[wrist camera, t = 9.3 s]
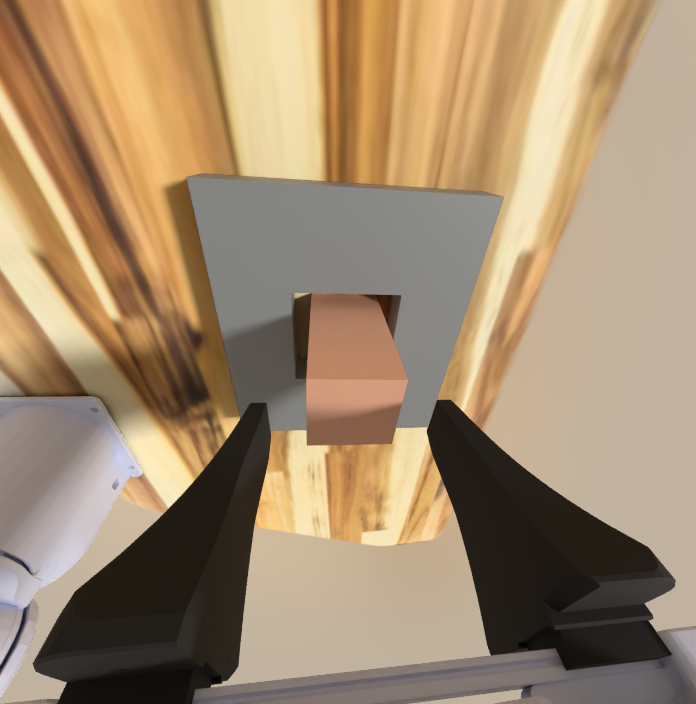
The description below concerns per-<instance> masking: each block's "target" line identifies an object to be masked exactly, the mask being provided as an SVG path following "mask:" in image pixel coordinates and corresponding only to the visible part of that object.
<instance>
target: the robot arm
mask: <svg viewBox="0 0 696 704" xmlns="http://www.w3.org/2000/svg"><path fill="white" fill-rule="evenodd" d="M427 435H428V439H429V443H430V447H431V451H432V454H433V457H434V459H435V462H436V465H437V467H438V470H439V472H440V475H441V477H442V480H443V483H444V485H445V488H446V490H447V493H448V495H449V498H450V500H451V503H452V505H453V508H454V511H455V514H456V517H457V520H458V524H459V527H460V531H461V534H462V538H463V541H464V545H465V549H466V552H467V556H468V560H469V564H470V568H471V572H472V576H473V580H474V584H475V589H476V593H477V597H478V602H479V607H480V611H481V616H482V621H483V626H484V631H485V636H486V641H487V646H488V649H489V651H490V654H491V656H484V657H476V658H466V659H457V660H448V661H440V662H431V663H422V664H414V665H405V666H396V667H387V668H379V669H370V670H361V671H353V672H344V673H335V674H326V675H317V676H309V677H301V678H291V679H283V680H274V681H265V682H256V683H248V684H239V685H230V686H221V687H213V688H211V685H214V684H221V683H222V681H227V680H228V679H229V678H230V676H231V675H232V674H233V673H234V672H235V670H236V669H237V667H238V664H239V653H240V641H241V632H242V622H243V612H244V604H245V595H246V586H247V577H248V569H249V561H250V553H251V546H252V537H253V531H254V524H255V519H256V514H257V509H258V505H259V500H260V496H261V492H262V487H263V483H264V478H265V474H266V469H267V465H268V460H269V452H270V442H271V431H270V423H269V416H268V409H267V403H250V404H249V405H248V407H247V409H246V411H245V412H244V414H243V416H242V417H241V419H240V421H239V422H238V424H237V425H236V427H235V428H234V430H233V431H232V433H231V434H230V436H229V437H228V438H227V440H226V441H225V443H224V444H223V446H222V447H221V448H220V450H219V451H218V452H217V454H216V455H215V456H214V458H213V459H212V460H211V461H210V463H209V464H208V465H207V466H206V468H205V469H204V470H203V471H202V473H201V474H200V475H199V476H198V477H197V479H196V480H195V481H194V482H193V483H192V484H191V485H190V487H189V488H188V489H187V490H186V491H185V492H184V493H183V494H182V495H181V496H180V497H179V498H178V499H177V501H176V502H175V503H174V504H173V505H172V506H171V507H170V508H169V509H168V510H167V511H166V512H165V513H164V514H163V515H162V516H161V517H160V518H159V519H158V520H157V521H156V522H155V523H154V524H153V525H152V526H150V527H149V528H148V529H147V530H146V531H145V532H144V533H143V534H142V535H141V536H140V537H139V538H137V539H136V540H135V541H134V542H133V543H132V544H131V545H130V546H129V547H128V548H126V550H124V551H123V552H122V553H121V554H120V555H118V556H117V557H116V558H115V559H114V560H113V561H111V562H110V563H109V564H108V565H106V566H105V567H104V568H103V569H102V570H100V571H99V572H98V573H97V574H96V575H94V576H93V577H92V578H91V579H90V580H89V581H87V582H86V583H85V584H84V585H82V586H81V587H80V588H79V589H78V590H76V591H75V592H74V594H73V596H72V597H71V599H70V600H69V602H68V603H67V605H66V606H65V608H64V609H63V611H62V613H61V614H60V616H59V617H58V619H57V621H56V623H55V624H54V626H53V628H52V630H51V632H50V633H49V635H48V637H47V639H46V641H45V643H44V644H43V646H42V648H41V650H40V651H39V654H38V655H37V657H36V659H35V661H34V662H33V666H34V669H35V671H36V672H38V673H40V674H42V675H46V676H49V677H52V678H55V679H58V680H61V681H64V682H67V684H66V686H65V688H64V690H63V693H62V694H61V696H60V699H59V700H58V699H43V700H32V701H24V702H15V703H6V704H409V703H416V702H425V701H432V700H440V699H447V698H456V697H464V696H471V695H479V694H487V693H495V692H502V691H510V690H517V689H523V691H522V693H521V699H518V700H512V701H507V702H502V703H496V704H696V626H693V627H684V628H675V629H667V630H662V631H658V632H656V631H655V629H654V628H653V626H652V625H651V624H650V622H649V621H648V620H651V619H653V615H652V614H651V612H650V611H649V609H648V608H647V607H646V605H645V604H644V603H646V602H648V601H650V600H652V599H655V598H656V597H659V596H661V595H663V594H665V593H666V592H668V591H670V590H672V589H673V588H674V587H675V581H676V580H675V579H674V578H673V576H672V575H671V574H670V573H669V572H668V570H667V569H666V568H665V567H664V565H663V564H662V563H661V562H660V561H659V560H658V558H657V557H656V556H655V555H654V553H653V552H652V551H651V550H650V549H649V548H648V547H647V546H645V545H643V544H642V543H640V542H638V541H636V540H634V539H632V538H631V537H629V536H627V535H625V534H624V533H622V532H620V531H618V530H616V529H614V528H613V527H611V526H609V525H607V524H606V523H604V522H602V521H601V520H599V519H598V518H596V517H594V516H593V515H591V514H589V513H588V512H586V511H584V510H583V509H581V508H580V507H578V506H577V505H575V504H574V503H572V502H570V501H569V500H567V499H566V498H564V497H563V496H562V495H560V494H559V493H557V492H556V491H554V490H553V489H551V488H550V487H549V486H547V485H546V484H544V483H543V482H542V481H540V480H539V479H538V478H536V477H535V476H534V475H532V474H531V473H530V472H528V471H527V470H526V469H525V468H523V467H522V466H521V465H520V464H518V463H517V462H516V461H515V460H514V459H512V458H511V457H510V456H509V455H508V454H506V452H504V451H503V450H502V449H501V448H500V447H499V446H498V445H497V444H495V443H494V442H493V441H492V440H491V439H490V438H489V437H488V436H487V435H486V434H485V433H484V432H483V431H482V430H481V429H480V428H479V427H478V426H477V425H476V424H475V423H474V422H473V421H472V420H470V419H469V418H468V417H467V415H466V414H465V413H464V412H463V411H462V410H461V409H460V408H459V407H458V406H457V405H456V404H455V403H453V402H452V401H451V400H437V402H436V405H435V408H434V411H433V414H432V417H431V420H430V423H429V426H428V429H427ZM142 473H143V469H142V468H141V466H140V464H139V463H138V461H137V459H136V458H135V456H134V454H133V453H132V451H131V449H130V448H129V446H128V444H127V443H126V441H125V439H124V438H123V436H122V434H121V433H120V431H119V429H118V428H117V426H116V424H115V423H114V421H113V419H112V418H111V416H110V414H109V413H108V411H107V409H106V408H105V406H104V404H103V403H102V401H101V400H100V399H99V398H97V397H93V396H71V397H0V697H1V696H2V694H3V693H4V692H5V690H6V689H7V687H8V686H9V684H10V683H11V681H12V680H13V678H14V676H15V675H16V673H17V671H18V670H19V668H20V666H21V664H22V663H23V660H24V659H25V656H26V654H27V653H28V650H29V648H30V646H31V643H32V640H33V637H34V634H35V629H36V625H37V619H38V605H37V603H36V602H35V601H34V600H33V599H32V598H33V596H34V595H35V593H36V592H37V590H38V589H40V588H42V587H44V586H46V585H48V584H50V583H52V582H53V581H55V580H56V579H58V578H59V577H60V576H62V575H63V574H64V573H65V572H67V571H68V570H69V569H70V568H71V567H72V566H73V565H74V564H75V563H76V562H77V561H78V560H79V559H80V558H81V557H82V556H83V554H84V553H85V552H86V550H87V549H88V548H89V546H90V545H91V543H92V541H93V540H94V538H95V536H96V534H97V533H98V531H99V529H100V527H101V526H102V524H103V522H104V520H105V519H106V517H107V515H108V513H109V512H110V510H111V508H112V507H113V505H114V503H115V502H116V500H117V498H118V496H119V495H120V493H121V491H122V489H123V488H124V486H125V484H126V482H127V481H128V479H129V477H139V476H141V474H142Z"/></svg>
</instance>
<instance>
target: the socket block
mask: <svg viewBox="0 0 696 704" xmlns="http://www.w3.org/2000/svg"><path fill="white" fill-rule="evenodd" d="M186 178H187V182H188V187H189V191H190V196H191V200H192V205H193V209H194V214H195V218H196V223H197V227H198V232H199V236H200V240H201V245H202V249H203V254H204V258H205V263H206V267H207V272H208V276H209V281H210V285H211V290H212V294H213V299H214V303H215V308H216V312H217V316H218V321H219V325H220V330H221V334H222V339H223V343H224V348H225V352H226V357H227V361H228V366H229V370H230V375H231V379H232V383H233V388H234V392H235V397H236V401H237V406H238V410H239V415H240V419H241V417H242V416H243V414H244V412H245V411H246V409H247V407H248V405H249V404H250V403H267V409H268V416H269V423H270V431H280V430H307V404H306V376H307V361H298V360H297V340H296V319H295V299H294V293H333V294H372V295H392V297H391V303H390V309H389V316H388V322H387V325H388V328H389V331H390V333H391V336H392V338H393V341H394V344H395V346H396V349H397V352H398V354H399V357H400V360H401V362H402V365H403V367H404V370H405V373H406V375H407V378H408V383H407V387H406V391H405V395H404V398H403V402H402V406H401V410H400V414H399V418H398V421H397V425H396V428H413V427H428V425H429V422H430V419H431V416H432V413H433V410H434V407H435V404H436V401H437V398H438V395H439V392H440V389H441V386H442V383H443V380H444V377H445V374H446V371H447V368H448V365H449V362H450V359H451V356H452V353H453V350H454V347H455V344H456V341H457V338H458V335H459V332H460V328H461V325H462V322H463V319H464V316H465V313H466V310H467V307H468V304H469V301H470V298H471V295H472V292H473V289H474V286H475V283H476V280H477V277H478V274H479V271H480V268H481V265H482V262H483V259H484V256H485V253H486V250H487V247H488V244H489V241H490V238H491V235H492V232H493V229H494V226H495V223H496V220H497V217H498V214H499V211H500V208H501V205H502V202H503V199H504V197H502V196H499V195H495V194H491V193H487V192H482V191H466V190H451V189H435V188H420V187H404V186H389V185H373V184H358V183H343V182H327V181H312V180H296V179H281V178H265V177H250V176H234V175H219V174H203V173H202V174H197V175H193V176H188V177H186Z"/></svg>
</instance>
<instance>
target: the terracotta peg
mask: <svg viewBox="0 0 696 704" xmlns="http://www.w3.org/2000/svg"><path fill="white" fill-rule="evenodd" d="M407 383H408V378H407V375H406V373H405V370H404V367H403V365H402V362H401V360H400V357H399V354H398V352H397V349H396V346H395V344H394V341H393V338H392V336H391V333H390V331H389V328H388V325H387V323H386V320H385V317H384V315H383V312H382V309H381V307H380V304H379V302H378V299H377V296H372V295H347V294H322V293H312V294H311V310H310V327H309V343H308V360H307V376H306V404H307V445H360V444H392V441H393V437H394V433H395V429H396V425H397V421H398V418H399V414H400V410H401V406H402V402H403V398H404V395H405V391H406V387H407Z"/></svg>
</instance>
